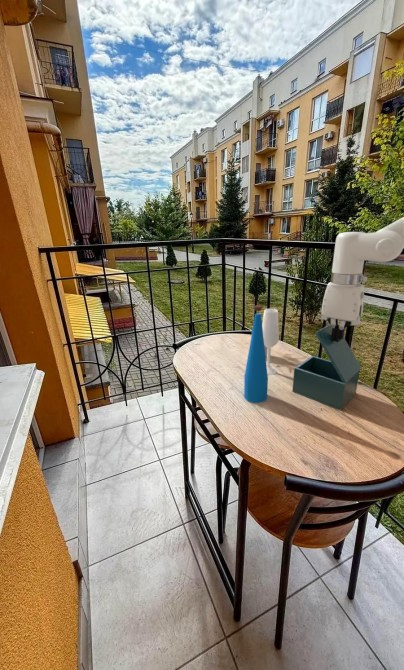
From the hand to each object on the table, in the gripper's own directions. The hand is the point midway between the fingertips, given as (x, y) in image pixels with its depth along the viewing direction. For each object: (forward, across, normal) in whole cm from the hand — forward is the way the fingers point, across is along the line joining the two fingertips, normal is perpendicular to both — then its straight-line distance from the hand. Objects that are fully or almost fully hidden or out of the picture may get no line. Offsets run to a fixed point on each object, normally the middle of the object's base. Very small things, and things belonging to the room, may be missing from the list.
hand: (336, 340), depth 84 cm
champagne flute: (+19, +24, -1) cm, 31 cm away
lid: (+3, -1, 0) cm, 3 cm away
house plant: (+19, +33, -12) cm, 40 cm away
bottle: (+19, +17, +17) cm, 31 cm away
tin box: (+19, +2, 0) cm, 19 cm away
